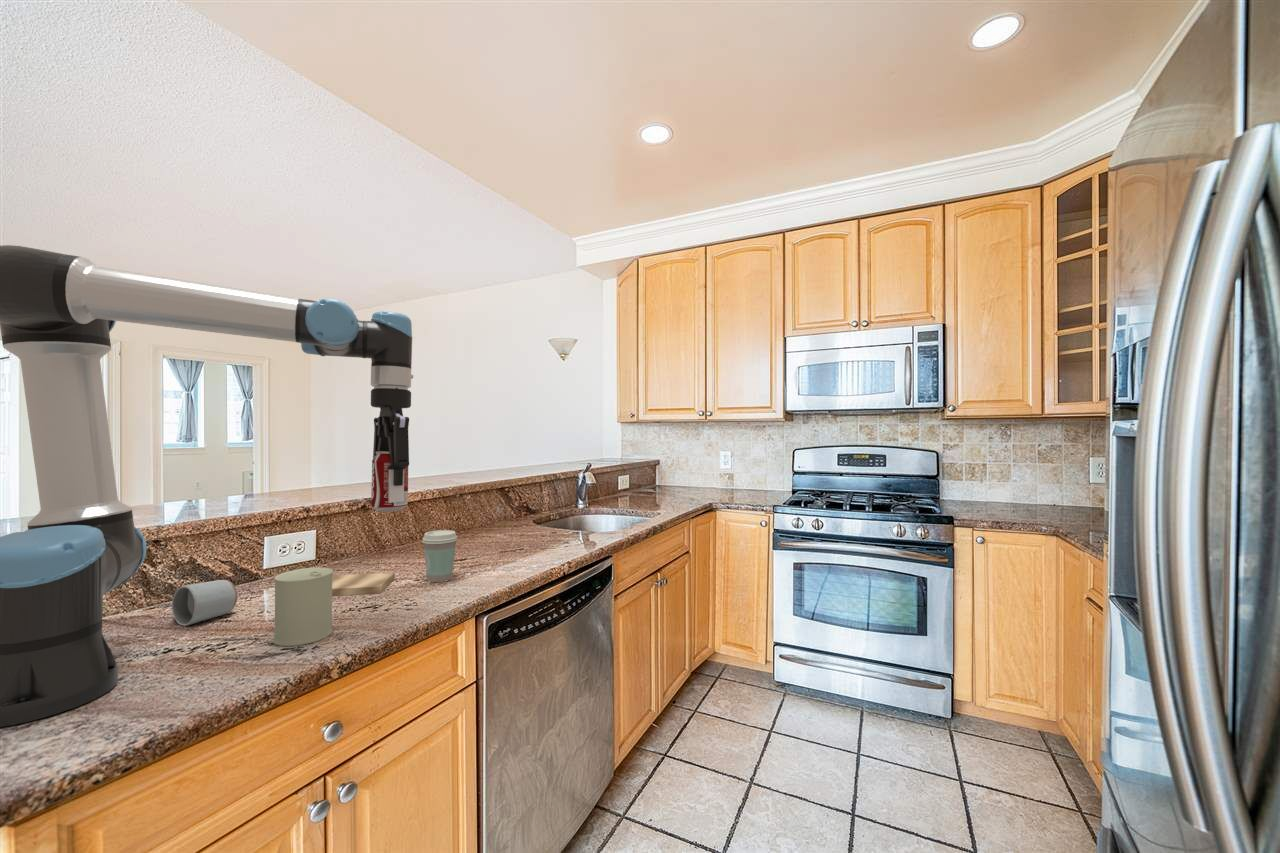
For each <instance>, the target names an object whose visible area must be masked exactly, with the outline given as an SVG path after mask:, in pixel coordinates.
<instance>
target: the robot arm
mask: <svg viewBox="0 0 1280 853" xmlns="http://www.w3.org/2000/svg"><path fill="white" fill-rule="evenodd" d="M371 316H372V317H371V319H370V320H359V319H358V318H357V315H356V314H355V312H354V310H353V309H352V308H351V307H350V306H349V305H348V304H346V303H345V302H343V301H342V300H339V299H335V298H324V299H323V298H322V299H319V300H312V299H305V298H304V299H303V298H298V297H293V296H287V295H278V294H274V293H273V294H272V293H267V292H266V293H265V292H260V291H253V290H247V289H240V288H237V287H236V288H234V287H228V286H222V285H215V284H209V283H203V282H197V281H196V282H195V281H191V280H183V279H177V278H171V277H165V276H157V275H153V274H147V273H146V274H144V273H140V272H139V273H138V272H135V271H134V272H133V271H127V270H121V269H115V268H108V267H103V266H102V267H101V266H97V265H96V264H94V262H93V261H91V260H90V259H89V258H87V257H83V256H79V255H72V254H66V253H59V252H55V251H51V250H50V251H49V250H45V249H39V248H34V247H33V248H32V247H28V246H22V245H12V244H11V245H9V244H8V245H7V244H6V245H0V335H1V344H2V347H3V349H4V350H5V351H7V352H9V353H10V354H13V355H14V356H16V357H17V358H18V359H19V361H20V367H21V368H20V369H21V373H22V383H23V390H24V395H25V403H26V410H27V419H28V426H29V433H30V440H31V441H30V442H31V447H32V456H33V463H34V464H33V465H34V469H35V471H34V472H35V477H36V478H35V479H36V484H37V485H36V486H37V492H38V498H39V499H38V500H39V506H40V507H39V508H40V510H39V512H38V513H37V514H36V515H35V516H34V517H32V518H31V519H30V520H29V521H28V522H27V529H26V530H25V531H16V532H13V533H8V534H5V535H2V536H0V728H3V727H8V726H15V725H18V724H25V723H28V722H31V721H33V722H34V721H36V720H40V719H43V718H47V717H50V716H53V715H57V714H60V713H63V712H66V711H69V710H71V709H74V708H77V707H79V706H82V705H84V704H87V703H89V702H91V701H94V700H96V699H97V698H100V697H101V696H103V695H105V694H106V693H108V692H109V691H111V690H112V689H113V688H115V687H116V685H117V684H118V682H119V665H118V663H117V661H116V659H115V657H114V656H115V655H114V654H113V652H112V651H111V648H110V646H109V644H108V642H107V640H106V637H105V636H104V634H103V607H104V606H103V605H104V602H103V601H104V600H103V599H104V595H106V594H107V593H109V592H110V591H113V590H115V589H117V588H118V587H120V586H123V585H124V584H125V583H126V582H128V581H129V580H130V579H131V578H132V577H133V576H134V575H135V574H136V572H138V570H139V569H140V567H141V566H142V565H143V563H144V560H145V558H146V555H147V548H148V547H147V541H146V539H145V536H144V534H143V533H142V532H141V531H140V530H139V528H137V527H136V526H135V522H134V514H133V509H132V507H131V506H129V505H127V504H125V503H123V502H122V501H120V500H119V496H118V491H117V490H118V489H117V481H116V474H115V467H114V465H115V464H114V459H113V452H112V451H113V450H112V443H111V436H110V428H109V420H108V413H107V412H108V411H107V405H106V397H105V389H104V382H103V381H104V380H103V374H102V367H101V366H102V365H101V359H102V358H104V357H105V355H107V354H108V353H109V352H111V351H112V344H111V336H110V334H111V333H110V332H111V331H112V330H113V329H114V328H115V325H116V323H117V322H124V323H131V324H140V325H149V326H157V327H164V328H165V327H166V328H173V329H182V330H190V331H198V332H199V331H200V332H207V333H208V332H209V333H217V334H224V335H233V336H242V337H251V338H259V339H268V340H273V341H274V340H275V341H284V342H291V343H293V342H294V343H299V344H300V345H301V350H302V352H304V353H305V354H307V355H316V356H320V357H327V356H328V357H345V358H358V359H359V358H362V359H371V364H370V365H371V366H370V386H371V387H373V388H372V389H371V390H370V406H371V407H372V408H379V409H380V410H379V416H378V417H374V419H373V424H374V428H373V429H374V430H373V431H374V432H373V433H374V434H373V451H372V452H373V454H372V459H373V458H374V457H375V456H376V452H378V451H389V454H390V463H391V466H388V467H387V470H389V490H388V502H389V503H392V502H404V469H405V468H406V466H408V467H409V466H410V451H409V450H410V447H409V443H410V440H409V425H410V418H409V417H408V416H404V414H403V409H409V408H411V406H412V392H411V390H409V389H410V388H411V387H412V380H413V378H414V374H412V363H413V362H412V359H413V357H412V356H413V330H412V328H413V327H412V326H413V325H412V320H411V318H410V317H409V316H408V315H406V314H404V313H401V312H400V313H399V312H397V311H396V312H395V311H375V312H374V313H372V315H371Z"/></svg>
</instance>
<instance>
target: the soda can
mask: <svg viewBox="0 0 1280 853" xmlns="http://www.w3.org/2000/svg"><path fill="white" fill-rule="evenodd" d="M388 466H391V463H390V454H389V451H378V452H376V456H375V457H374V458H373V457H372V460H371V495H370V496H371V499H370V500H371V501H370V502H371V504H370V505H371V509H373V510H375V511H376V512H383V513H384V512H386V513H387V512H398V511H402V510H404V508H407V507H408V505H409V466H406V468H405V469H404V502H392V503H389V502H388V490H389V470H387V467H388Z"/></svg>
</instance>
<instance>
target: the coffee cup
mask: <svg viewBox="0 0 1280 853" xmlns="http://www.w3.org/2000/svg"><path fill="white" fill-rule="evenodd" d="M458 540H459V538H458V535H457V534H456V531H455V530H450V529H438V530H432V531H427V532H425V533H424V534H423V537H422V541H421V543H423V551H424V552H423V553H424V561H425V570H426V578H427V582H429V581H430V582H429V583H433V582H438V583H442V582H441V581H445V582H447V581H446V580H449V579H451V578H453V571H454V562H455V554H456V546H457V541H458ZM451 580H452V579H451ZM449 581H450V580H449Z"/></svg>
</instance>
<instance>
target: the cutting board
mask: <svg viewBox="0 0 1280 853" xmlns="http://www.w3.org/2000/svg"><path fill="white" fill-rule="evenodd" d="M395 574H396V573H395V572H381V573H380V572H379V573H359V574H358V573H357V574H336V575H334V574H333V578H332V597H333V596H337V597H338V596H353V595H354V596H357V595H370V594H371V595H372V594H373V595H374V594H377V595H378V594H382V592H383V591H384V590H385V589H386V588H388V586H390V584H391V583H392V582H394V581H395V579H396V576H395ZM394 578H395V579H394Z"/></svg>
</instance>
